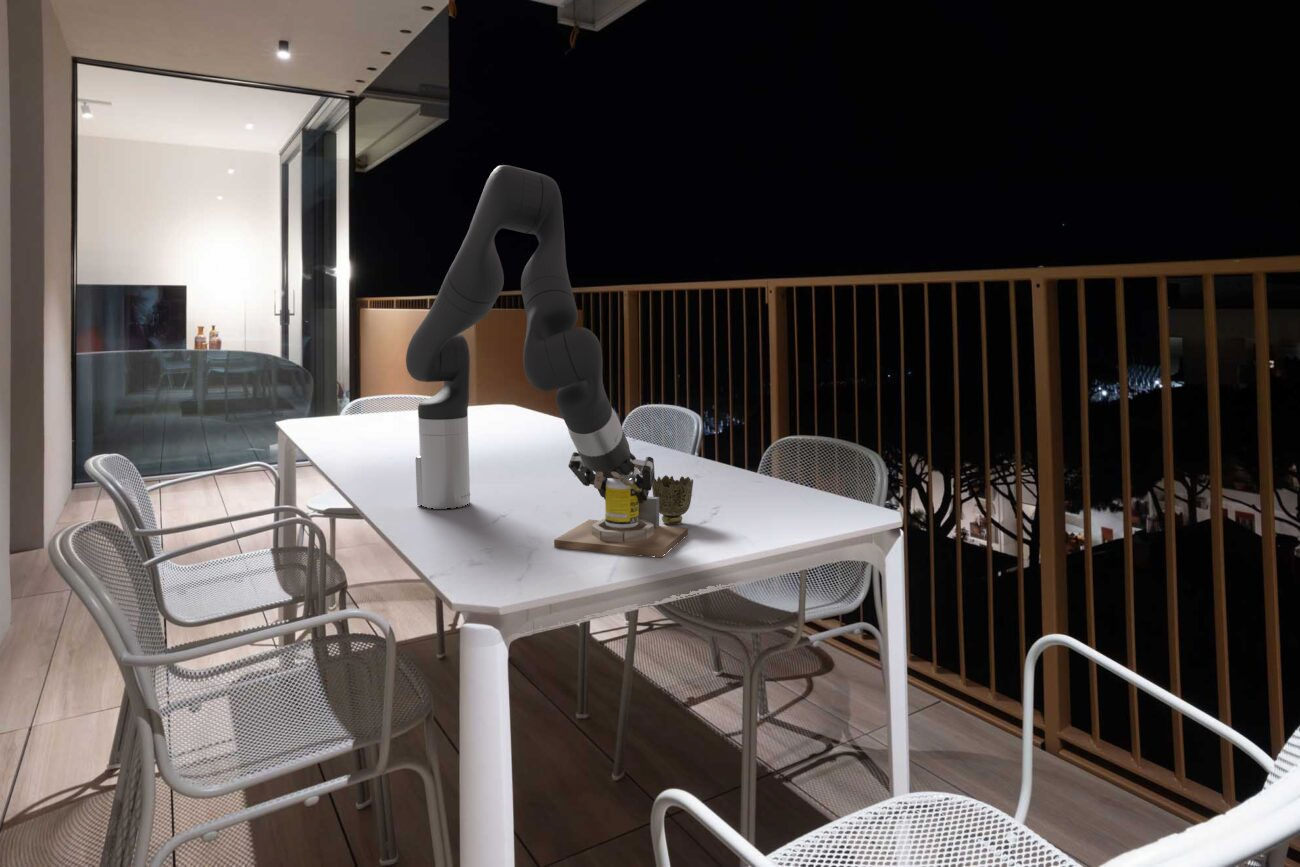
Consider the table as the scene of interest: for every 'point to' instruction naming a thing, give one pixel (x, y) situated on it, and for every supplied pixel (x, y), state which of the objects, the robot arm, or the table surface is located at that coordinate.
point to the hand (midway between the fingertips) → (626, 497)
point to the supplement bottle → (620, 505)
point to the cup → (673, 497)
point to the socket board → (622, 548)
